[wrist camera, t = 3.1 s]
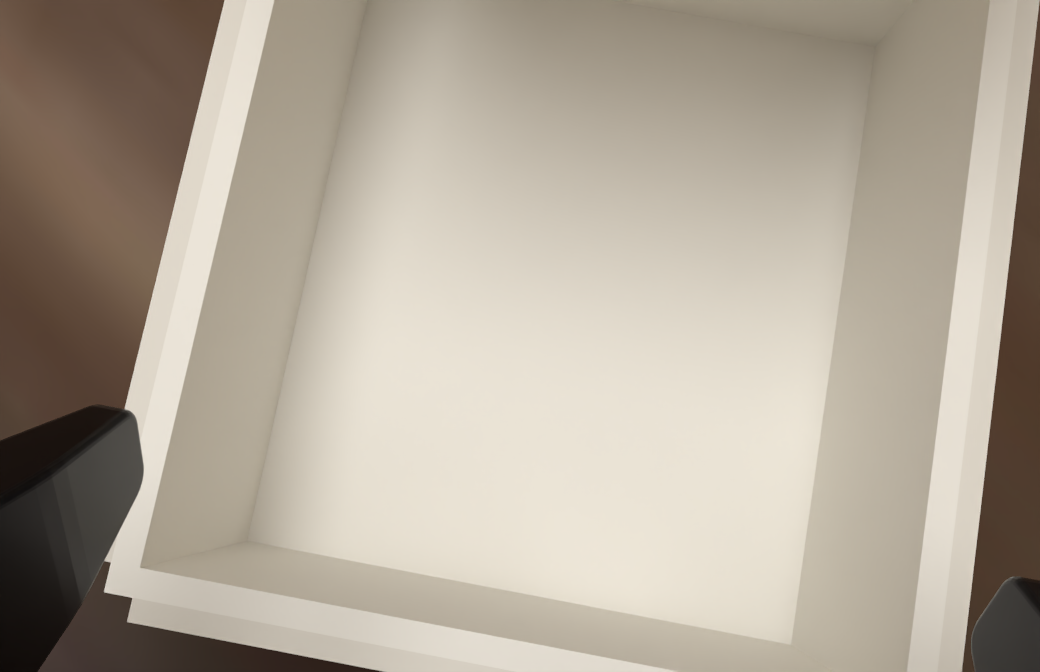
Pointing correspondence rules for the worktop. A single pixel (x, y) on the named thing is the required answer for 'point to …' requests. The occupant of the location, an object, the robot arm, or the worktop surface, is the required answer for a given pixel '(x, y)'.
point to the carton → (582, 334)
